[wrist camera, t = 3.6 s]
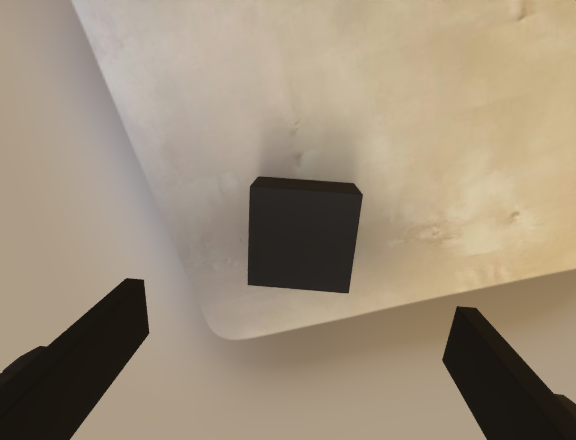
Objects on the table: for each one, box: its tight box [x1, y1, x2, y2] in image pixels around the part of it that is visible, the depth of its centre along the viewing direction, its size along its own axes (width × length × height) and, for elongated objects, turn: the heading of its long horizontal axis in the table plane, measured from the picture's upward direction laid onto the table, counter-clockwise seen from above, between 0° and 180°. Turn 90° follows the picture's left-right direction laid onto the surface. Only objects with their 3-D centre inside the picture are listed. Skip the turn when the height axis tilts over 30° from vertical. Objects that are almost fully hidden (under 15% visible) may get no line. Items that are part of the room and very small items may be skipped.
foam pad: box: [248, 177, 363, 293], centre depth 24 cm, size 8×8×4 cm
